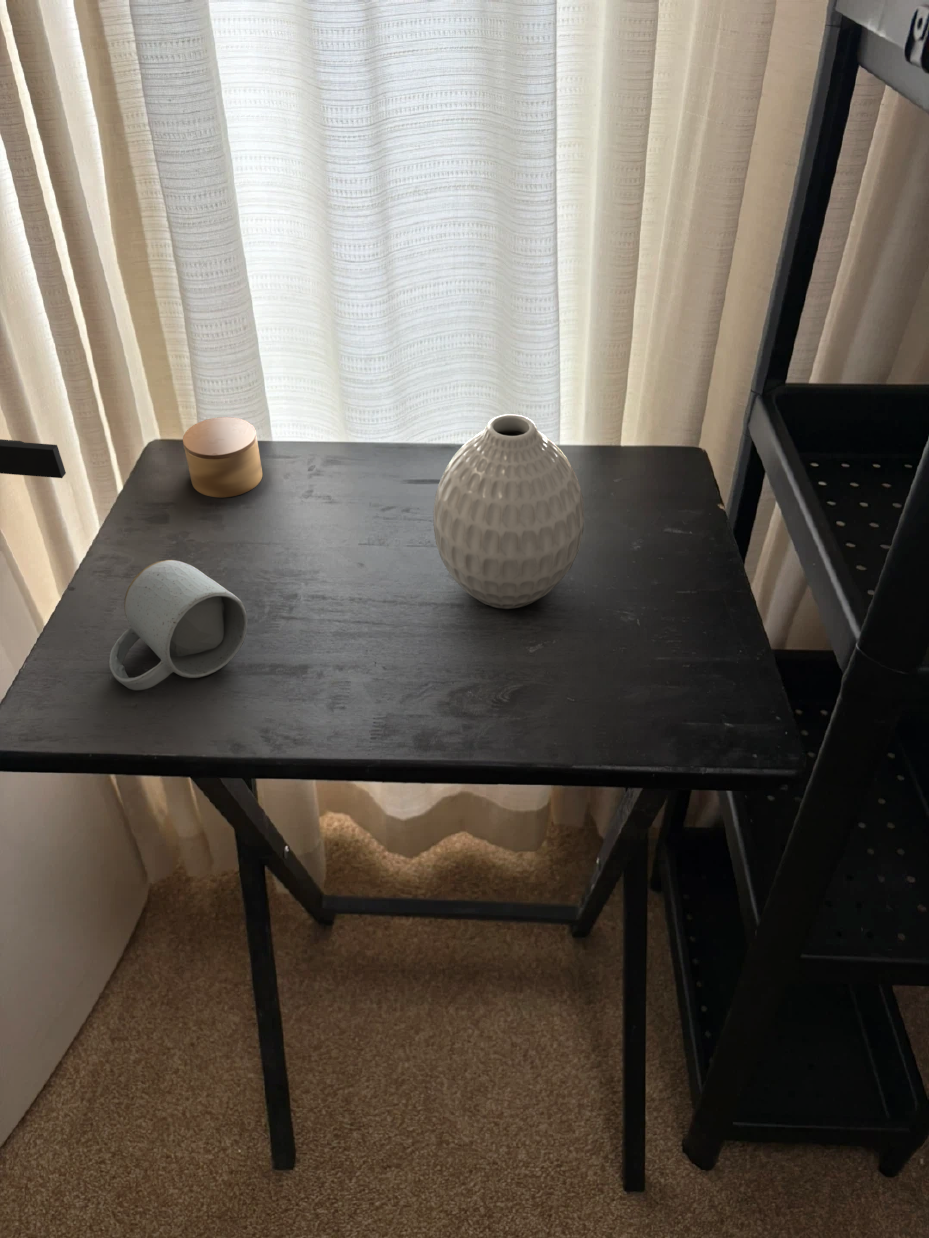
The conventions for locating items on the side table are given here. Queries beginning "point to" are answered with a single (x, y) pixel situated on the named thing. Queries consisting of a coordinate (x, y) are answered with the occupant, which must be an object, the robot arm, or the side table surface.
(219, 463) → the oak stand
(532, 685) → the side table surface
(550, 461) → the vase
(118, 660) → the ceramic mug
